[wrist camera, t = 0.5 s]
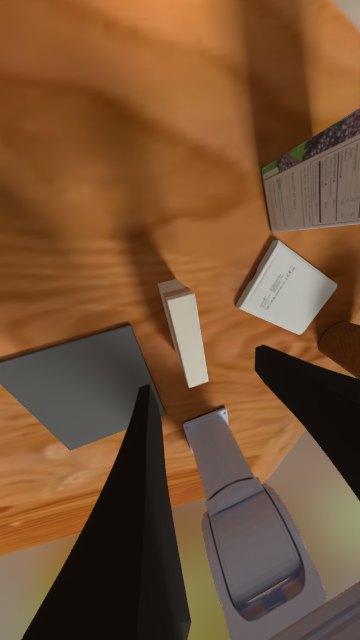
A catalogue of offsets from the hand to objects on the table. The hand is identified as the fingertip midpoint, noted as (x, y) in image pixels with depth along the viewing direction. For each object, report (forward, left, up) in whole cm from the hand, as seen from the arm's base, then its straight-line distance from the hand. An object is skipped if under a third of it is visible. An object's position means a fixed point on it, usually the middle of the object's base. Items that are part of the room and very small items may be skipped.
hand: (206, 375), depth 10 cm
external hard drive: (-1, -15, -10) cm, 18 cm away
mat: (-7, +12, -9) cm, 17 cm away
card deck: (0, 0, -9) cm, 9 cm away
